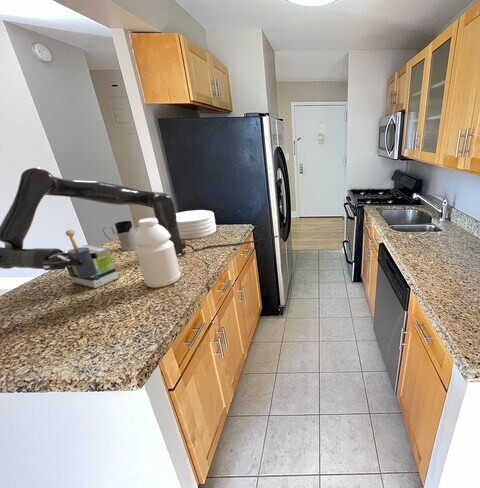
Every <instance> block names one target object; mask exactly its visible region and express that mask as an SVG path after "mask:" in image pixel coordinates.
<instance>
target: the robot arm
mask: <svg viewBox="0 0 480 488" xmlns="http://www.w3.org/2000/svg"><path fill="white" fill-rule="evenodd" d="M44 196H53V197H54V196H55V197H67V198H74V199H80V200H85V201H90V202H96V203H101V204H102V203H103V204H108V205H118V206H130V205H131V206H132V205H133V206H134V205H136V206H142V207H148V208H152V209H153V213H154V218H157V220H158V223H157V224H159V225H161V226H163V227H164V228H165V229H166V230H167V231H168V232H169V233H170V235H171V237H170V238H169V240H170V241H172V242H173V244H174V248H175V253H176V257H180V256H182V255H183V256H184V254H185V249H186V248H187V247H189V248H190V249H192V251H195V252H197V251H202V250H206V249H208V248H216V247H227V246H237V245H245V244H251V243H252V244H253V243H258V242H261V241H267V240H271V239H276V238H279V235H274V236H271V237H270V236H269V237H266V238H260V239H256V240H250V241H243V242H235V243H226V244H214V245H213V244H212V245H207V246H204V247H202V248H198V249H196V248H194V246H193V245H190V244H187V243H186V241H185V240H183V239H181V236H180V233H179V229H178V224H177V217H176V213H177V211H176V206H175V203H174V200H173V198H172V197H171V196H170V195H168V194H167V193H165V192H162V191H161V192H159V191H150V190H149V191H148V190H140V189H135V188H132V187H129V186H124V185H120V184H116V183H109V182H104V181H98V180H97V181H95V180H72V179H67V178H62V177H57V176H54V175H52V173H51V172H49V171H48V170H46V169H44V168H40V167H31V168H27V169H26V170H23V172H22V173H21V174H20V179H19V184H18V188H17V191H16V194H15V197H14V199H13V202H12V203H11V205H10V207H9V208H8V211H7V213H6V214H5V216H4V218H3V220H2V221H1V224H0V242H1V243H3V245H4V247H2V246H0V269H3V270H10V269H13V268H17V269H34V270H35V269H36V270H44V271H59V270H65V269H66V268H67V267H71V266H82V265H83V262H82V260H77V259H71V257H70V254H69V252H64V251H63V250H62V249H60V248H57V247H56V248H55V247H54V248H53V247H52V248H51V247H45V248H44V247H42V248H41V247H35V248H24V242H25V239H26V237H27V235H28V233H29V231H30V229H31V227H32V224H33V221H34V218H35V216H36V212H37V210H38V207H39V204H40V202H41V201H42V199H43V198H44ZM91 256H92V259H96V258H98V257H97V254H96V253H91Z"/></svg>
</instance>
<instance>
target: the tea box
mask: <svg viewBox="0 0 480 488" xmlns="http://www.w3.org/2000/svg"><path fill="white" fill-rule="evenodd" d="M77 247H78V248H83V247H87V248H89V250H90V253H96V254H97V257H98V258H96V259H93V261H94V264H95V267H96V269H97V272H98V273H97V274H96V275H94V276H91V277H88V278H79V277H78V274H77V272H76V269H75V267H74V266H71V267H66V269H67V272H68V274H69V277H70V279H71V281H72V283H73V284H78V285H82V286H86V287H90V288H94V289H96V288H99V287H101V286H103V285H106V284H108V283H110V282H112V281H115V280H116V279H117V280H118V278H119V275H118V272H117V270H116V267H115V264H114V260H113V258H112V255H111V251H110V249H109V248H108V247H103V246H98V245H97V246H96V245H90V244H84V245H81V246H77ZM73 249H74V248H71V249H68V250H65V251H63V252H69V251H71V250H73Z"/></svg>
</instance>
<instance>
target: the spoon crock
mask: <svg viewBox="0 0 480 488" xmlns="http://www.w3.org/2000/svg"><path fill="white" fill-rule="evenodd" d="M65 235H66V236H67V237H69V240H70V243H71V245H72V247H73V248H72V249H73V250H71V249H70V250H71V251H69V254H70V257H71V259H77V260H82V262H83V265H82V266H74V267H75V269H76V272H77V274H78V277H79V278H88V277H91V276H94V275H96V274H97V273H98V272H97V269H96V267H95V264H94V261H93V259H92V256H91V253H90V250H89V248H87V247H83V248H78V247H79V246H78V245H77V242H76V240H75V236H74V235H75V231H74V230H72V229H68V230H66V231H65Z"/></svg>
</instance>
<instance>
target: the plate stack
mask: <svg viewBox="0 0 480 488" xmlns="http://www.w3.org/2000/svg"><path fill="white" fill-rule="evenodd" d="M176 217H177V224H178V229H179V233H180V236H181V240H191V239H199V238H203V237H207V236H210V235H212V234H214V233H215V232H216V231H217V224H216V218H215V213H214V212H213V211H212V210H205V209H195V210H186V211H180V212H176Z"/></svg>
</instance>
